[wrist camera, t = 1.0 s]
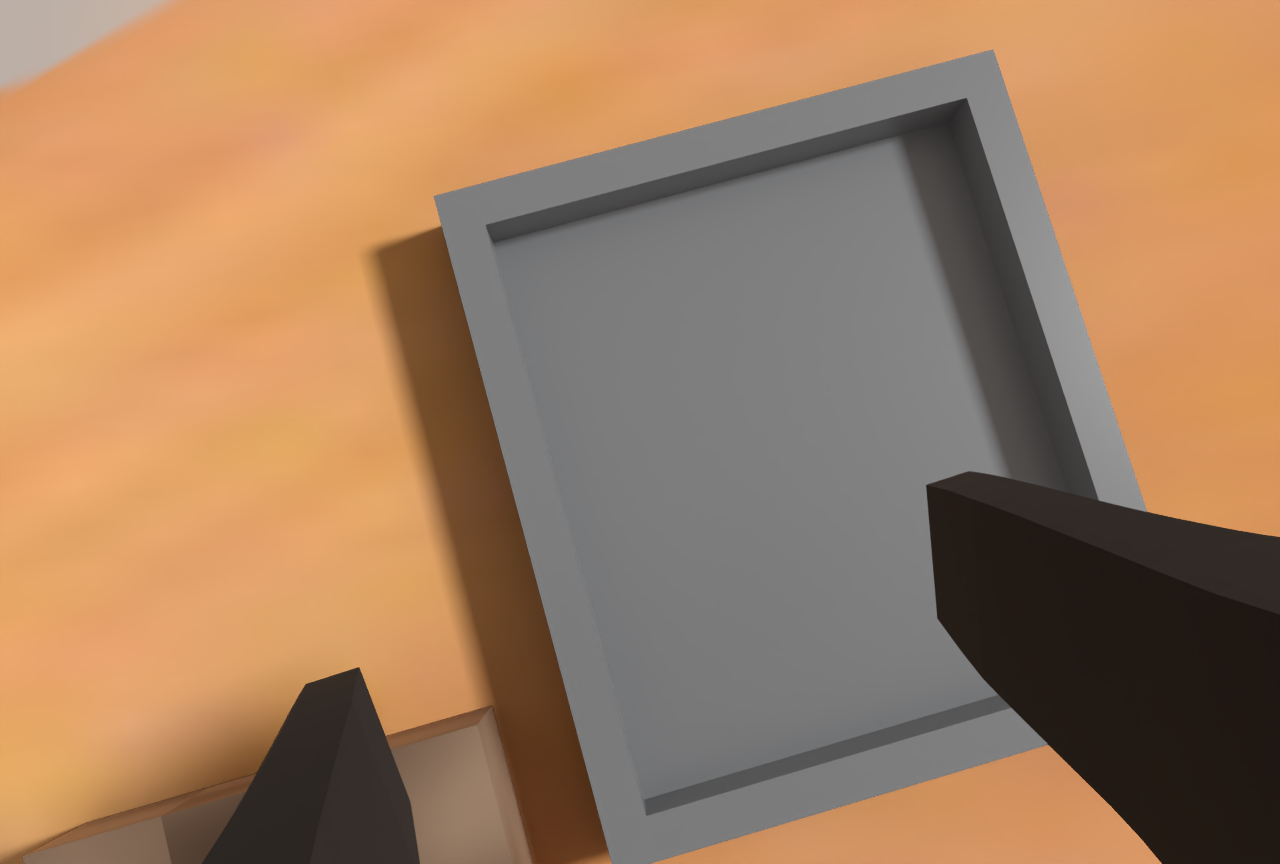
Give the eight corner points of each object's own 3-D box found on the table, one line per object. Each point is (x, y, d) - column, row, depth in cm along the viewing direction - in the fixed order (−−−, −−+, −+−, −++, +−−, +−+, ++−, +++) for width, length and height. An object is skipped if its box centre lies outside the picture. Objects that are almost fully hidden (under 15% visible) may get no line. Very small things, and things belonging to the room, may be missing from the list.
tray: (1160, 683, 24) (1208, 696, 22) (615, 845, 24) (614, 874, 22) (964, 87, 26) (993, 49, 24) (448, 222, 25) (433, 196, 23)
